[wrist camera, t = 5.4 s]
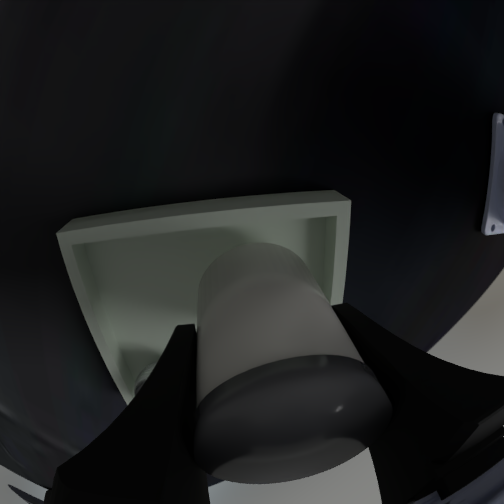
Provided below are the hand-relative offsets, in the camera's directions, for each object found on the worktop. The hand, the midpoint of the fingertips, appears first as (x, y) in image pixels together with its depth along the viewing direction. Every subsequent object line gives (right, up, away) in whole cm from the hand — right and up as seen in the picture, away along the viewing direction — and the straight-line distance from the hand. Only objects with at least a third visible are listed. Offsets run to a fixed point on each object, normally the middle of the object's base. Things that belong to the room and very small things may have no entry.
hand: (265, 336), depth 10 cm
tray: (-2, 0, +4) cm, 5 cm away
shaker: (0, +1, +2) cm, 2 cm away
